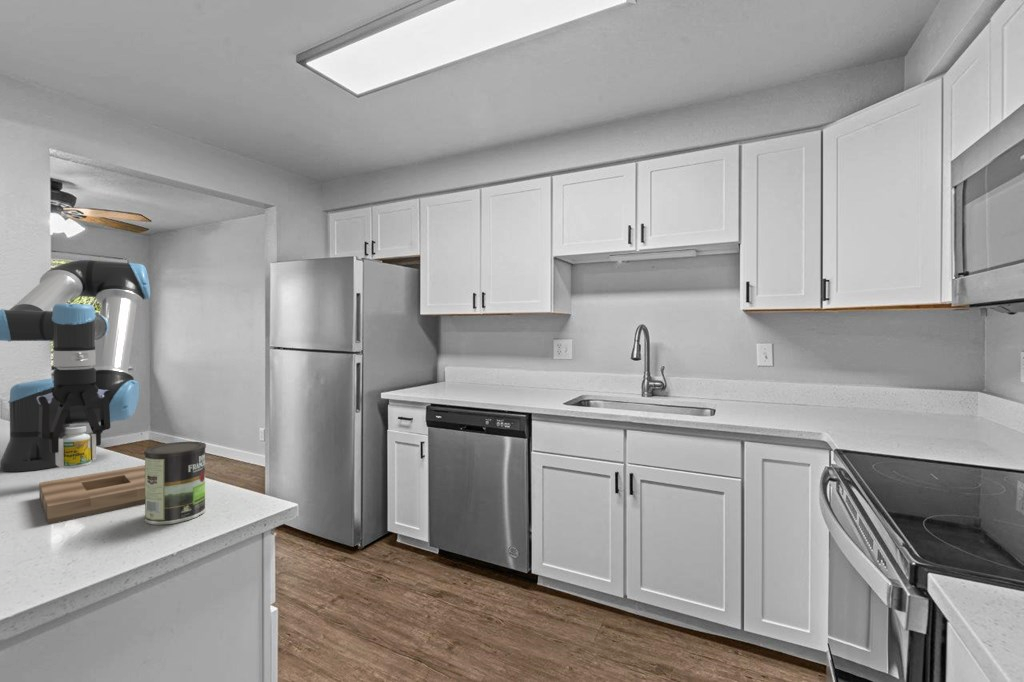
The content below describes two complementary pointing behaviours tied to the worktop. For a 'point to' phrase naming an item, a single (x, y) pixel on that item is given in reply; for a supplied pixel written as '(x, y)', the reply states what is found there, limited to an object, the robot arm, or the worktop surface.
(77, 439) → the supplement bottle
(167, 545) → the worktop surface
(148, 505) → the coffee can
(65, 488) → the socket block
